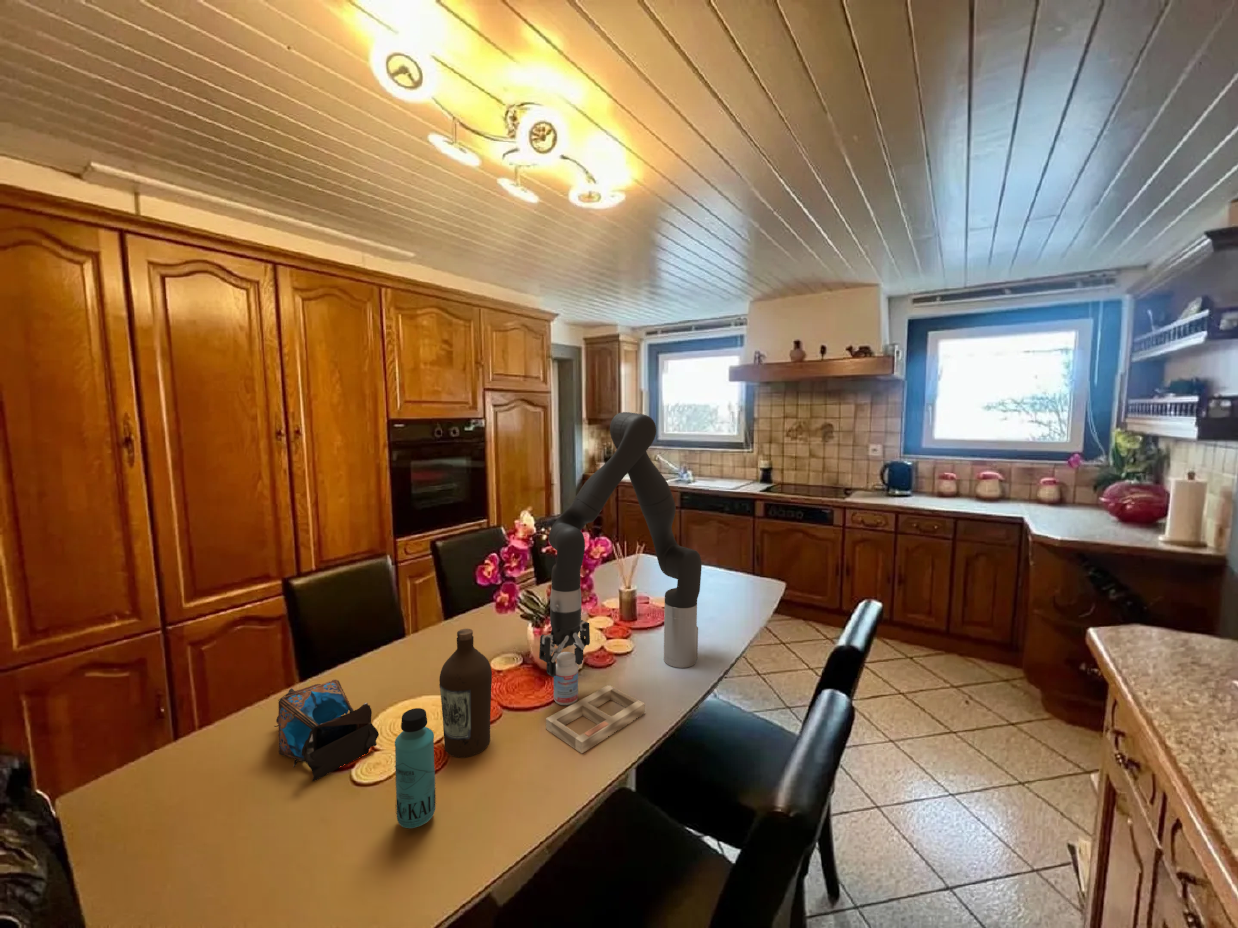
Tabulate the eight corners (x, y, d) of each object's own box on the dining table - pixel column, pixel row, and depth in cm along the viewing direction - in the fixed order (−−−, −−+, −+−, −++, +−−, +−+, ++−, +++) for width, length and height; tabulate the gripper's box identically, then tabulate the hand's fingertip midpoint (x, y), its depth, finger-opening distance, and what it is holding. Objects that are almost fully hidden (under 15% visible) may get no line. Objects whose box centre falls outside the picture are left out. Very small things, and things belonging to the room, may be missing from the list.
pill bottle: (557, 708, 123) (557, 663, 122) (550, 695, 129) (550, 652, 127) (581, 703, 125) (581, 659, 124) (573, 690, 131) (573, 648, 130)
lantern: (352, 795, 103) (292, 744, 117) (400, 714, 110) (338, 674, 124) (284, 784, 92) (226, 728, 105) (342, 693, 99) (281, 652, 112)
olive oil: (461, 724, 116) (458, 618, 114) (502, 733, 113) (500, 624, 111) (430, 754, 106) (426, 638, 104) (474, 765, 103) (472, 645, 101)
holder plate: (608, 694, 129) (608, 684, 129) (644, 713, 121) (644, 702, 121) (545, 729, 115) (545, 717, 115) (581, 753, 107) (581, 741, 106)
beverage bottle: (403, 809, 91) (399, 703, 89) (441, 807, 92) (438, 701, 90) (390, 839, 85) (385, 725, 83) (431, 836, 86) (427, 723, 84)
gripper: (577, 594, 132) (576, 655, 134) (532, 608, 122) (532, 674, 123) (597, 602, 127) (596, 665, 128) (552, 617, 117) (552, 685, 118)
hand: (565, 669), depth 126 cm, fingers open, 8 cm apart
